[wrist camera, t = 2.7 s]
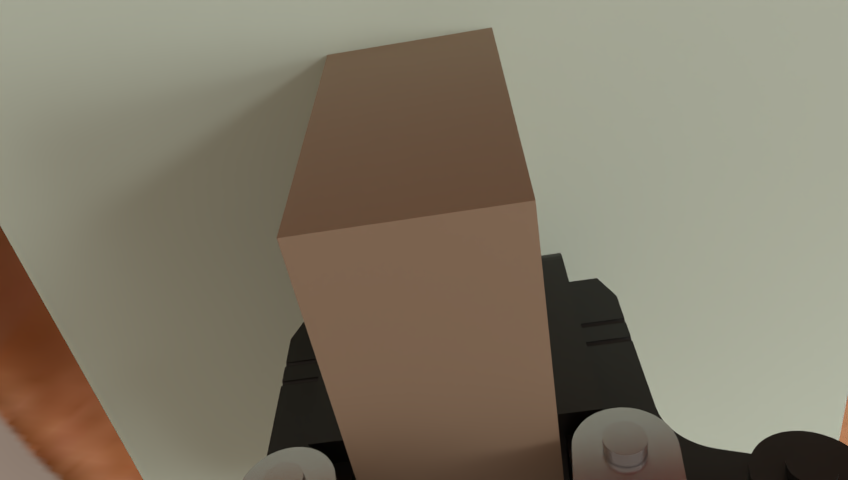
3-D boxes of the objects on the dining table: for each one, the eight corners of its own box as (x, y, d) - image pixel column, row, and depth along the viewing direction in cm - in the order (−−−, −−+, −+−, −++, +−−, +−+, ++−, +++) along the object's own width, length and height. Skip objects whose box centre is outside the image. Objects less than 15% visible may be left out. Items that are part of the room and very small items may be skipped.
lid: (888, -298, 11) (1451, -331, 5) (788, 423, 19) (957, 737, 13) (-85, -109, 12) (-563, 45, 6) (212, 491, 20) (127, 807, 14)
